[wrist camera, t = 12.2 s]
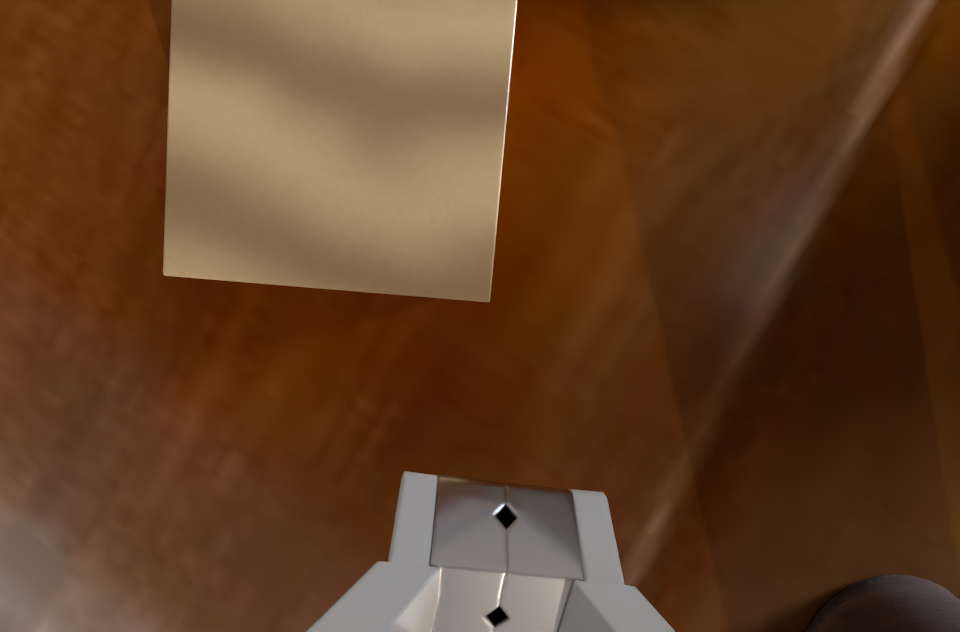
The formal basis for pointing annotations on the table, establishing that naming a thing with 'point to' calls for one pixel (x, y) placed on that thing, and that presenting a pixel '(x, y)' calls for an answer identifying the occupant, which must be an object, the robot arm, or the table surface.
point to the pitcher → (890, 607)
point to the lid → (338, 143)
